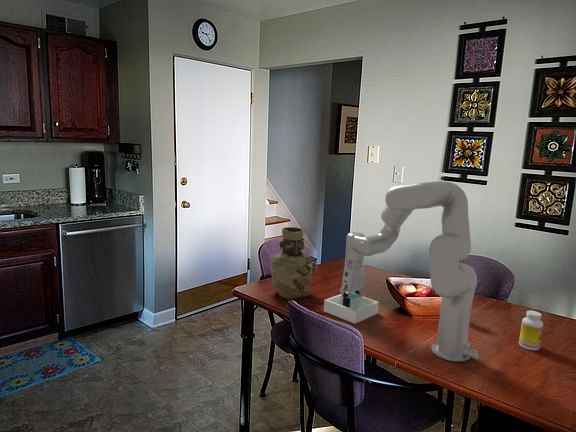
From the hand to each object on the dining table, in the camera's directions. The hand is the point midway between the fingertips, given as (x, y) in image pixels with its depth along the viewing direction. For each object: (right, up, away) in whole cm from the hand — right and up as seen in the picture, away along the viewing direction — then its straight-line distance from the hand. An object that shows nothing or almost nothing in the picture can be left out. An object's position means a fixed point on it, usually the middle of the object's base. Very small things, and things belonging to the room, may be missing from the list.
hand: (351, 303), depth 180 cm
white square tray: (0, -4, +1) cm, 4 cm away
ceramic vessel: (-25, +1, +21) cm, 32 cm away
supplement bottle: (+61, -11, -24) cm, 66 cm away
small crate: (0, -1, 0) cm, 1 cm away
